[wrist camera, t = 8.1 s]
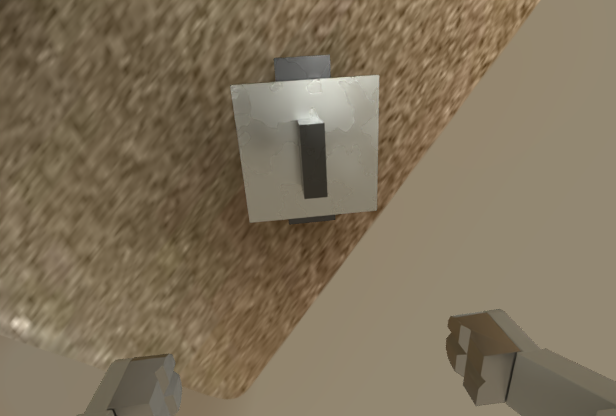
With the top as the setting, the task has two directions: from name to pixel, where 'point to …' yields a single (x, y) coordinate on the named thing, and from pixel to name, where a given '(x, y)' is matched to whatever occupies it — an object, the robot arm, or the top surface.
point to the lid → (308, 146)
